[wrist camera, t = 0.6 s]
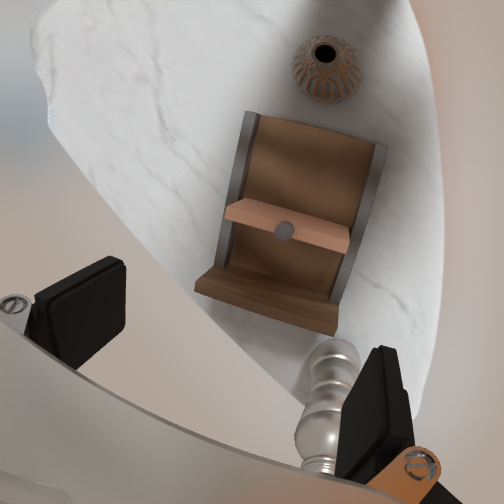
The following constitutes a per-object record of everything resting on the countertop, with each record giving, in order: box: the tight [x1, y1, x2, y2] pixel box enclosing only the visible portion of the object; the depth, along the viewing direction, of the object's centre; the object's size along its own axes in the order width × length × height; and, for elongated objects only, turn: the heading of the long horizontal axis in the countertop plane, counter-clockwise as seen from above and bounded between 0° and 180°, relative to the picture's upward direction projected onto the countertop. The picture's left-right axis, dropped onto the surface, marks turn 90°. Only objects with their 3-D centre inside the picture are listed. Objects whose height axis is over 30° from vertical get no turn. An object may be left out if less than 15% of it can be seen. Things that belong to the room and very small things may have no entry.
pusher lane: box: [194, 111, 388, 337], centre depth 31 cm, size 19×15×8 cm
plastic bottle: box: [294, 339, 361, 476], centre depth 30 cm, size 6×7×20 cm
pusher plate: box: [225, 198, 350, 254], centre depth 31 cm, size 2×12×8 cm, turn 77°
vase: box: [293, 36, 363, 103], centre depth 26 cm, size 7×7×9 cm
